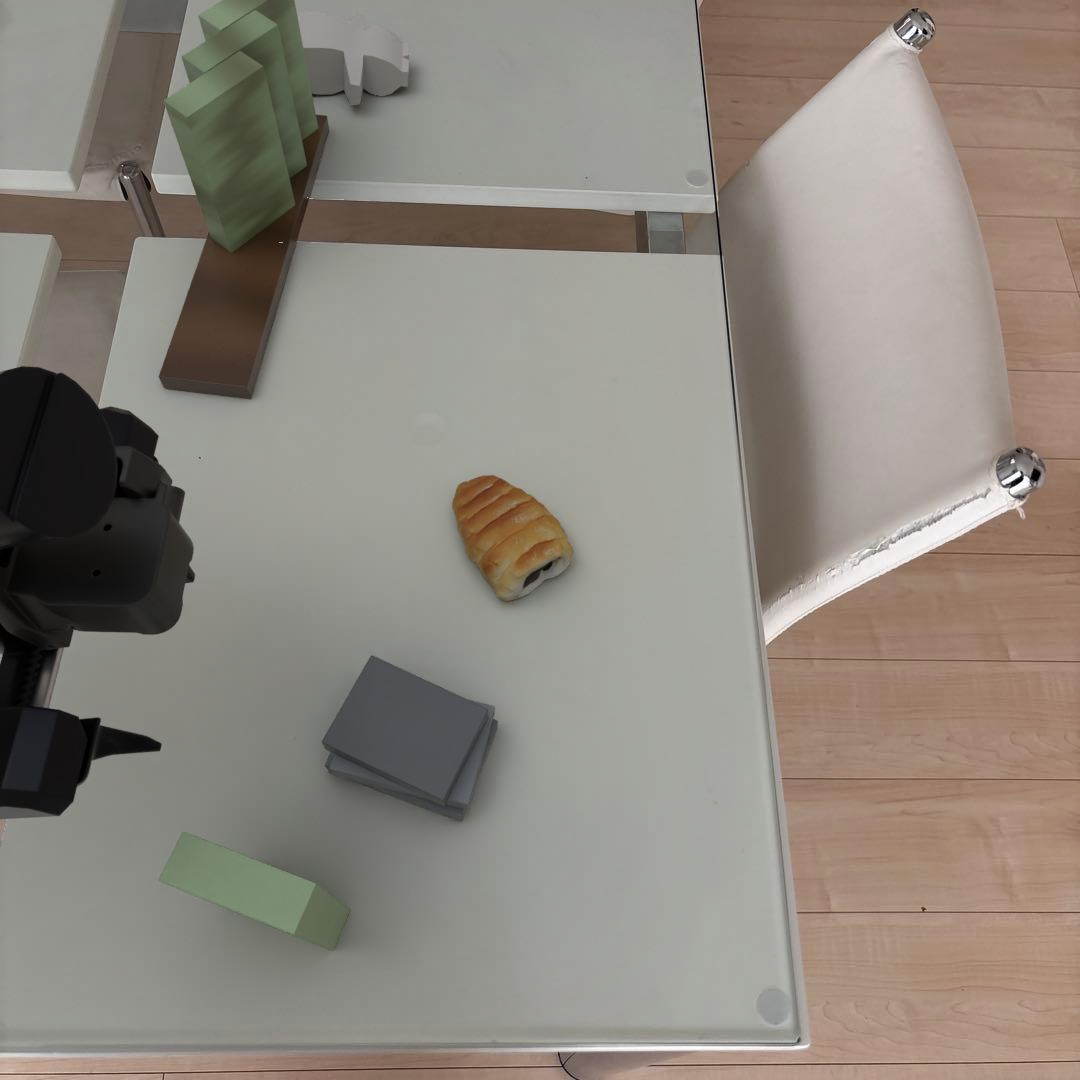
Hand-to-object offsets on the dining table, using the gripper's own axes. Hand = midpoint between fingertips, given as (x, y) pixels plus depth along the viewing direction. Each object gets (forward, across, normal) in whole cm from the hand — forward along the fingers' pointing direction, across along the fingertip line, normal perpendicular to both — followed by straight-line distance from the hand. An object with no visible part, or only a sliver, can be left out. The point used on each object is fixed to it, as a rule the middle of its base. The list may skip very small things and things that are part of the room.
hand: (171, 660), depth 50 cm
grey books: (+16, -1, -6) cm, 17 cm away
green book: (+14, -11, 0) cm, 17 cm away
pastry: (+18, +14, -11) cm, 25 cm away
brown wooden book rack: (+10, +40, +9) cm, 42 cm away
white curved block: (+11, +60, +6) cm, 62 cm away
